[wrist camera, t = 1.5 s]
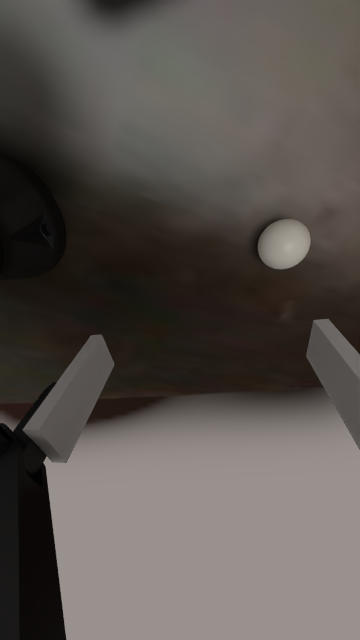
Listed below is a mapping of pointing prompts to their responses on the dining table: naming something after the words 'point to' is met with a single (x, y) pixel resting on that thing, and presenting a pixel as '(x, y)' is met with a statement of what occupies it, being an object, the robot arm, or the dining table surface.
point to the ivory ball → (284, 243)
